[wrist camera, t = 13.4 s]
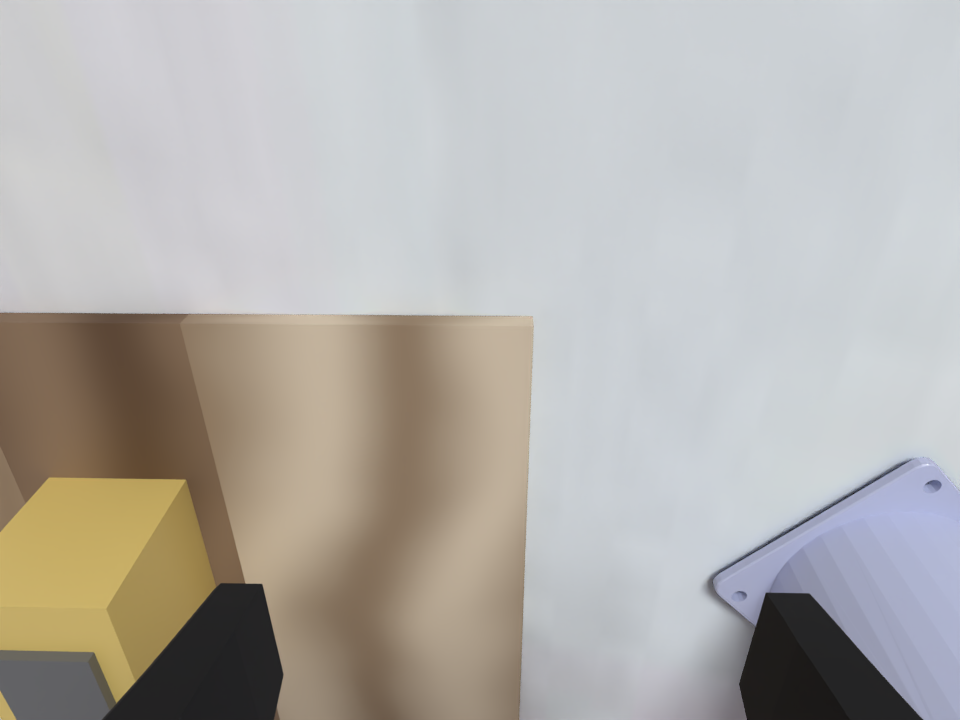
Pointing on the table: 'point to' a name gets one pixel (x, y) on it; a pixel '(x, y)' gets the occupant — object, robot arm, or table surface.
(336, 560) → the subfloor board
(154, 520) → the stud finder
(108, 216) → the table surface
